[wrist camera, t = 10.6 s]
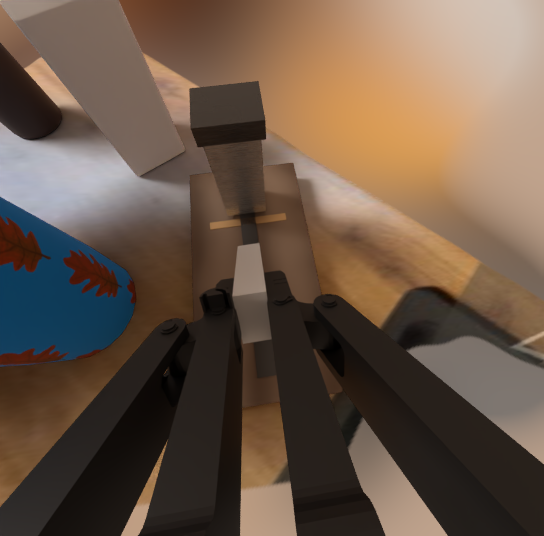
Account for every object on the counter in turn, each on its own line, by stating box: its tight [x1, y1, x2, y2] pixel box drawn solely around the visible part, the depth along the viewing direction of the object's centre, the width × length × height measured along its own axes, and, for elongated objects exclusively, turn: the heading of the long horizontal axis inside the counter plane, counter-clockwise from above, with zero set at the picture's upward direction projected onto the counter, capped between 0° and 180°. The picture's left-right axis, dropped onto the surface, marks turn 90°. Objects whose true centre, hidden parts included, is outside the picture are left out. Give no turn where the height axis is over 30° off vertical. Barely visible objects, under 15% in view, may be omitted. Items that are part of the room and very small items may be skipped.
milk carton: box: [0, 0, 185, 176], centre depth 22 cm, size 7×7×19 cm
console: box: [190, 163, 343, 408], centre depth 24 cm, size 12×24×3 cm, turn 8°
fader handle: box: [190, 81, 266, 216], centre depth 20 cm, size 5×4×10 cm
